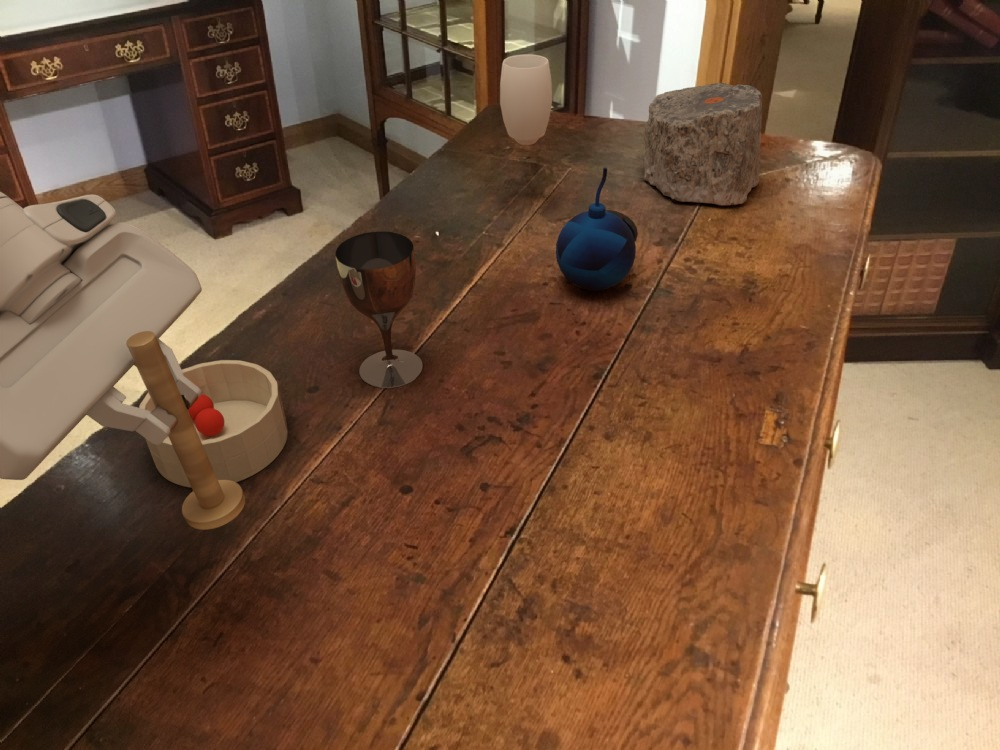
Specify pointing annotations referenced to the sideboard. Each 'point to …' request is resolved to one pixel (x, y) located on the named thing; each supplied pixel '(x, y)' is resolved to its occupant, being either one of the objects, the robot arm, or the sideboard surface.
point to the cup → (526, 97)
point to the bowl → (231, 421)
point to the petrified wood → (705, 143)
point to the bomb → (597, 246)
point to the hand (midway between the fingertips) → (181, 418)
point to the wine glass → (381, 298)
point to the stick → (186, 441)
